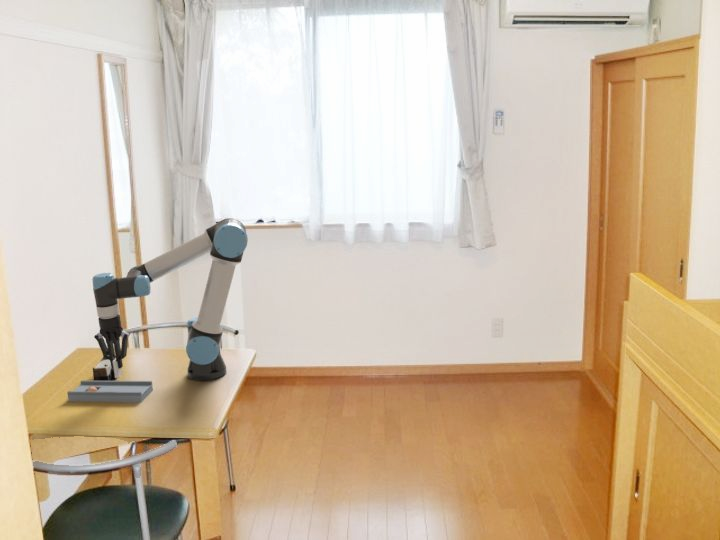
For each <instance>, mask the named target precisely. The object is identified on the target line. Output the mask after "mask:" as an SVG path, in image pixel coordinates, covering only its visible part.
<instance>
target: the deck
mask: <svg viewBox="0 0 720 540" xmlns="http://www.w3.org/2000/svg"><path fill="white" fill-rule="evenodd" d="M79 383H80V384H79V385H78V386H77V387H76V388H74V389H73V390H72V391H71V390H70V391H67V399H68V402H72V403H73V402H75V403H76V402H78V403H79V402H83V403H85V402H89V403H90V402H92V403H95V402H97V403H101V402H103V403H142V402H143V401H144V400H145V399H147V397H149V395H150V394H151V393H152V392H153V390H154V387H153V381H152V380H112V381H94V380H80V382H79ZM90 387H95V388H96V389H97V391H88V389H89V388H90Z"/></svg>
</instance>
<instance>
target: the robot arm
mask: <svg viewBox="0 0 720 540" xmlns="http://www.w3.org/2000/svg"><path fill="white" fill-rule="evenodd" d="M248 240H249V239H248V235H247V230H246V228H245V225H244V224H243V223H242V222H241V220H239V219H236V218H234V217H227V218H224V219H221V220H220V221H218V222H217V223H215V224H213V225H211V226H210V227H208V228H206V229H204V233H202V234H200V235H198V236H195V237H194V238H192V239H190V240H188V241H186V242H184V243H182V244H180V245H178V246H176V247H174V248H172V249H170V250H168V251H166V252H164V253H162V254H160V255H158V256H156V257H154V258H152V259H151V260H149V261H146V262H145V263H143V264H141V265H136V266H133V267H131V268H130V269H129V271H128V272H127V274H126V277H125V276H124V277H115V276H114V274H113V273H111V272H103V273H97V274H95V275H94V276H92V279H91V280H92V291H93V295H94V301H95V306H96V314H97V317H98V324H99V332H98V333H96V334H95V335H94V336H93V338H94V339H95V340H96V341H97V344H98V345H99V348H100V351H101V353H102V357H103V356H104V358H105V359H108V360H110V362H111V368H112V369H114V373H115V378H117V379H118V378H120V377H122V375H123V371H122V368H123V367H124V365H123V360H124V358H126V357H127V352H128V341H129V337H130V334H131V333H130V332H128V331H125V330H124V329H123V326H122V320H121V315H120V307H119V302H118V300H121V299H129V298H130V299H132V298H142V297H147V296H150V294H151V283H153V282H154V281H157V280H158V279H161V278H163V277H164V276H166V275H168V274H171V273H172V272H175V271H177V270H178V269H180V268H183V267H184V266H187V265H188V264H190V263H193V262H194V261H196V260H199V259H200V258H202V257H204V256H206V255H208V254H209V256H210V257H211V258H212V262H211V265H210V269H209V273H208V278H207V280H206V284H205V285H206V286H205V288H204V292H203V296H202V301H201V305H200V309H199V311H198V312H199V313H198V317H194V318H191V319H189V320H187V323H186V325H187V326H186V328H187V343H186V346H185V351H186V355H187V358H188V359H189V361H188V367H187V378H188V379H190V380H192V381H200V382H201V381H213V380H216V379H219V378H222V377H223V376H225V375H226V373H227V365H226V364H225V360H224V358H223V356H222V354H221V346H220V344H221V340H222V336H223V333H224V332H223V331H224V329H223V328H222V326H221V324H222V320H223V316H224V312H225V308H226V304H227V301H228V297H229V293H230V289H231V285H232V281H233V277H234V273H235V269H236V266H237V265H239V264H240V263H242V259H243V256H244V252H245V250H246V248H247V246H248V242H249V241H248ZM120 338H122V339H120ZM115 355H116V357H115ZM115 358H116V359H115Z"/></svg>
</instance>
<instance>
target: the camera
mask: <svg viewBox="0 0 720 540" xmlns="http://www.w3.org/2000/svg"><path fill="white" fill-rule="evenodd" d="M115 357H116V355H115ZM115 359H116V358H115ZM92 374H93V375H92V376H93V377H92V378H93V381H117V379H118V378H115V373H114V369H112V368H111V362H110V360H108V359H105V358H104V356H103V355H102V358H101V359H100V361H99V362H98V363H97V364H96V365H95V366H94V367H92Z"/></svg>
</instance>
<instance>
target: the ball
mask: <svg viewBox="0 0 720 540" xmlns="http://www.w3.org/2000/svg"><path fill="white" fill-rule="evenodd" d="M88 391H97V389H96V388H95V387H90V388H89V389H88Z"/></svg>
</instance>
